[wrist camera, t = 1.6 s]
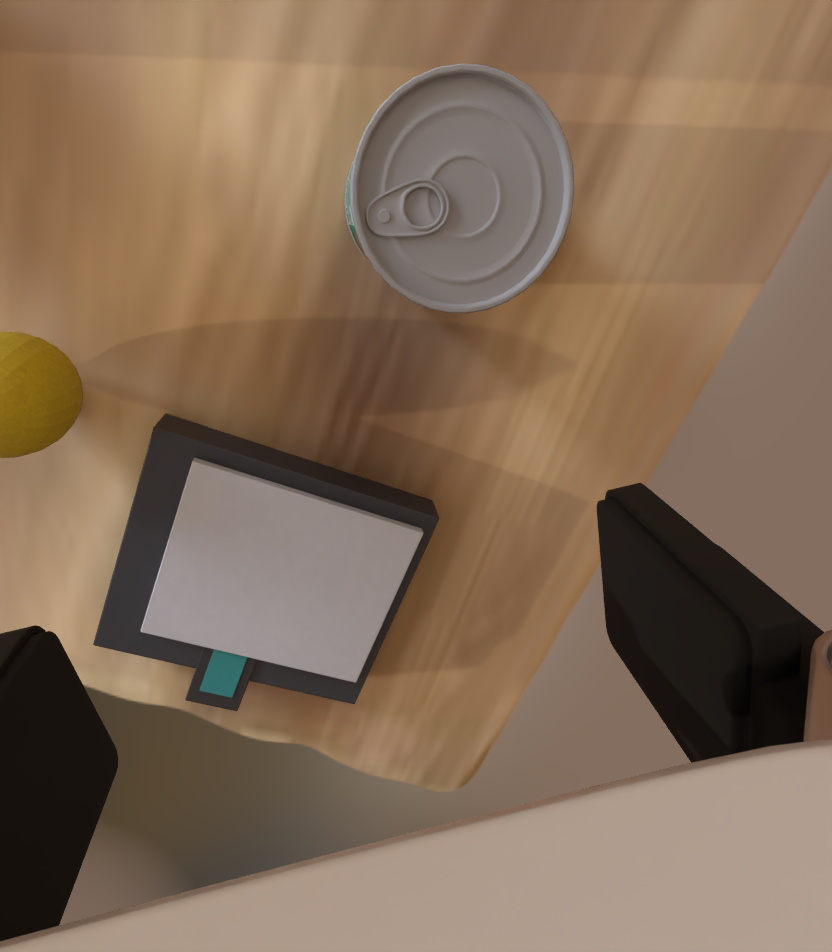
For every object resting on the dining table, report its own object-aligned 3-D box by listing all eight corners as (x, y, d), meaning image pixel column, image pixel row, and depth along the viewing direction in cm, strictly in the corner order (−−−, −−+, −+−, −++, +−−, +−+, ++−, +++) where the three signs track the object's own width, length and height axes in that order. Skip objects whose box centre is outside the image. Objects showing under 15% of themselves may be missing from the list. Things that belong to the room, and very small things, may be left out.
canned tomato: (484, 99, 30) (562, 37, 20) (509, 266, 33) (588, 285, 23) (324, 136, 30) (322, 92, 20) (365, 301, 33) (381, 336, 23)
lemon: (100, 434, 34) (37, 493, 26) (-12, 413, 33) (-111, 470, 25) (108, 333, 32) (42, 367, 25) (-11, 308, 31) (-118, 336, 23)
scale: (98, 649, 39) (80, 683, 36) (165, 412, 34) (150, 430, 31) (341, 704, 43) (342, 738, 40) (433, 500, 38) (441, 523, 35)
